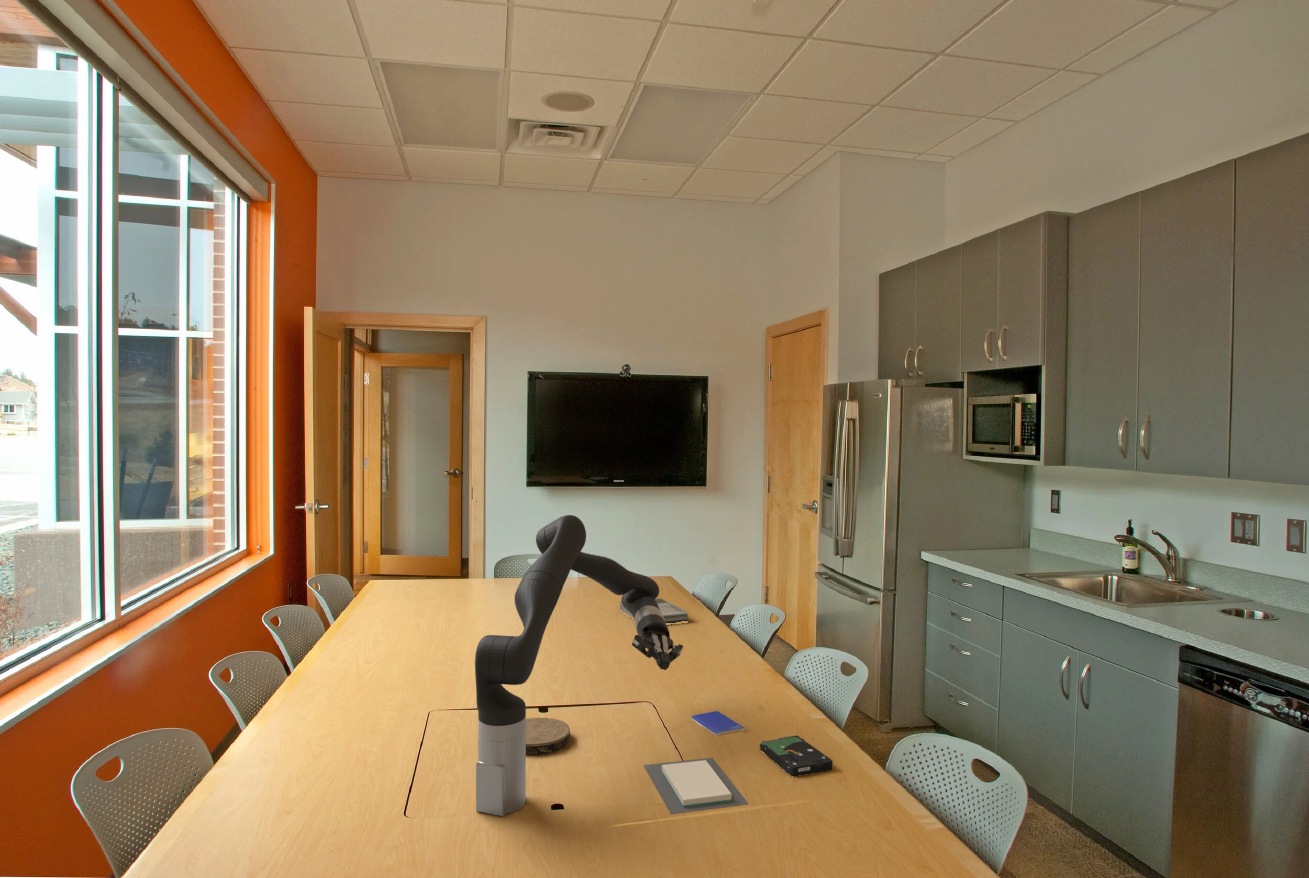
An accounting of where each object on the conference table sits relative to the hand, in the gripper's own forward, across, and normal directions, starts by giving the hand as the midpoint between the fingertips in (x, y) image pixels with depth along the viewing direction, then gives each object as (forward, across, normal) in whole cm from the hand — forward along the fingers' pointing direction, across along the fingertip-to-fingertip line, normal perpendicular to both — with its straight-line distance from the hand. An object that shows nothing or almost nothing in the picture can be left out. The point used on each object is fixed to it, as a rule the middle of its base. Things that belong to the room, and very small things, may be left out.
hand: (664, 666), depth 175 cm
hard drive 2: (-9, +23, +19) cm, 31 cm away
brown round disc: (-7, -21, +31) cm, 38 cm away
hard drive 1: (-115, +36, +46) cm, 129 cm away
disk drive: (+13, +32, +10) cm, 36 cm away
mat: (+20, +7, +14) cm, 26 cm away
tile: (+13, +7, +15) cm, 21 cm away
